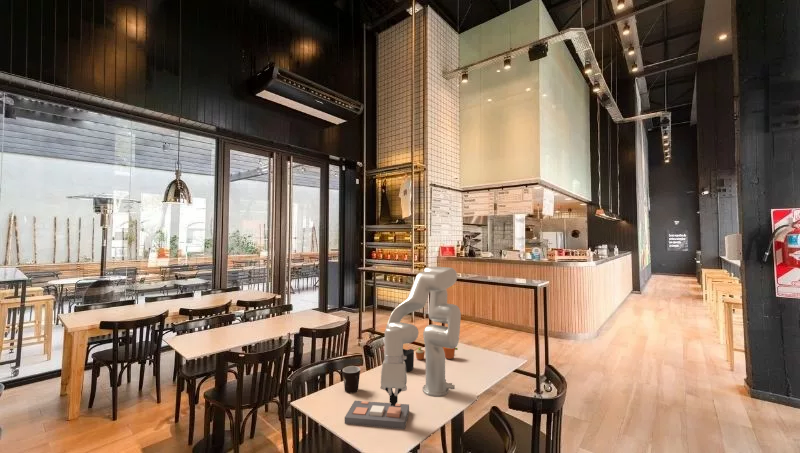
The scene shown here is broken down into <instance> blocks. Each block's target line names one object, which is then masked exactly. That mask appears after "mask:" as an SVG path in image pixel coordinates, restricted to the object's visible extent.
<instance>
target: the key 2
mask: <svg viewBox="0 0 800 453" xmlns="http://www.w3.org/2000/svg"><path fill="white" fill-rule="evenodd" d="M400 415H401V407H389V408H388V411H387V417H393V418H400Z"/></svg>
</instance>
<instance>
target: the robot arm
mask: <svg viewBox="0 0 800 453" xmlns="http://www.w3.org/2000/svg"><path fill="white" fill-rule="evenodd" d="M457 280H458V273H457V270H456V269H455V268H453V267H445V266H427V267H425V268H424V269H423V271H420V272H418V273H417V274H416V276H415V278H414V281H413V283H412V285H411V288H410V290H409V293H408V295H407V298H406V299H405V300H403V302H401V303H400V304H399V305H398V306H397V307H395V308H394V309H393V310H392V312H391V313H390V316H389V318H388V320H387V323H386V326H385V330H384V360H383V361H382V365H381V372H380V374H381V375H380V389H381V390H383V391H385V392H386V393H387V394H388V396H389V403H391V406H395V405H396V404H398V400H399V399H398V395H399V394H400V393H401V392H406V391H407V390H408V389H407V388H408V387H407V382H408V381H407V379H408V378H407V375H408V374H407V372H406V364H405V361H404V360H406V359H407V356H404V355H403V349H404V345H405V344H411V343H413V342H415V341H417V339H418V337H419V329H418V328H417V326H416V325H414V324H411V323H406V322H401V321H402V319H403V318H404V317H405V316H406V315H409V314H410V313H413V312H416V311H419V310H422V309H423V308H425V306H426V304H427V301H428V299H429V306H428V307H429V308H428V318H429V320H431V321H432V322H435V323H439V324H429V325H426V326H425V328H424V329H423V333H422V335H423V342H424V347H425V349H424V351H425V354H424V355H425V384H424V385H423V386H422V392H423V393H424V394H425V395H428V396H431V397H443V396H445V395H447V394H449V389H450V390H456V388H455V384H453V382H447V379H446V358H445V353H444V350H443V348H442V347H445V348H458V345H459V341H460V332H461V320H462V317H461V316H462V313H461V309H460V307H459V306H458V305H457V304H454V303H453V304H452V303H448V291H447V289H449V288H450V287H452V286H454V285H455V283H456V282H457ZM429 295H430V297H429ZM441 323H442V324H447V326H444V325H440V324H441ZM393 389H394V390H393Z"/></svg>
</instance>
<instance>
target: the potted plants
mask: <svg viewBox="0 0 800 453" xmlns="http://www.w3.org/2000/svg"><path fill="white" fill-rule="evenodd" d="M442 348H443V350H444V353H445V359H448V360H449V359H450V360H452V359H454V357H455V353H456V351H458V347H455V348H445V347H442ZM414 353H415V358H416V359H417V360H424V359H425V355H426V354H425V349H424V350H423V349H422V348H421V347H418V349H416V350H414Z"/></svg>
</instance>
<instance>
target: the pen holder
mask: <svg viewBox="0 0 800 453" xmlns="http://www.w3.org/2000/svg"><path fill="white" fill-rule="evenodd" d="M403 355H404V356H407V359H406V360H404V361H405V364H406V373H407V372H410V371H413V370H414V361H415V359H414V358H415V350H414V349H412V348H410V349H405V348H403Z"/></svg>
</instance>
